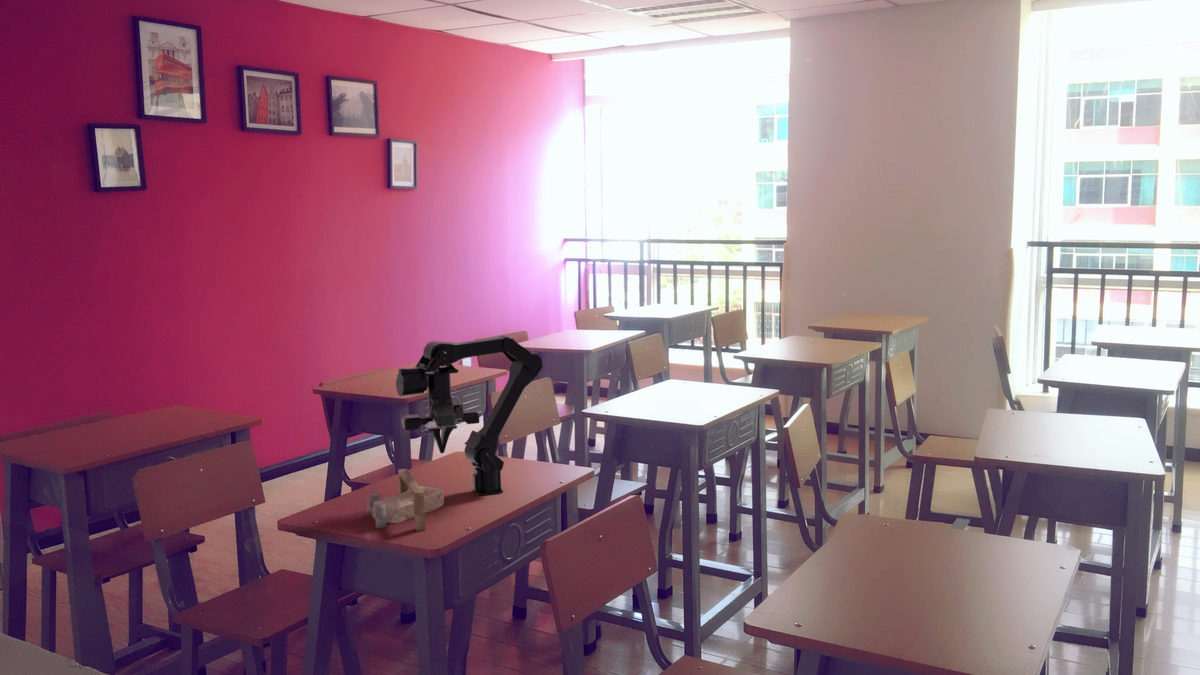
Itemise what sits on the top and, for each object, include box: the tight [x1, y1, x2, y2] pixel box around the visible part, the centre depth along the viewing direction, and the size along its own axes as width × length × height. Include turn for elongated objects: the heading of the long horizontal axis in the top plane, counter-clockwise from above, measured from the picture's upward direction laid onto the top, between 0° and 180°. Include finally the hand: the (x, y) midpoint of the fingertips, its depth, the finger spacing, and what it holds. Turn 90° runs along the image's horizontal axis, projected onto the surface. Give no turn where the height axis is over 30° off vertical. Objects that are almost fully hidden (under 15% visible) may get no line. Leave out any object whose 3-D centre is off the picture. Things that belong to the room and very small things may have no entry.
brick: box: [372, 485, 445, 524], centre depth 226 cm, size 17×8×5 cm, turn 144°
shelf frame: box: [368, 468, 426, 532], centre depth 221 cm, size 10×23×9 cm, turn 21°
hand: (441, 452), depth 235 cm, fingers closed
